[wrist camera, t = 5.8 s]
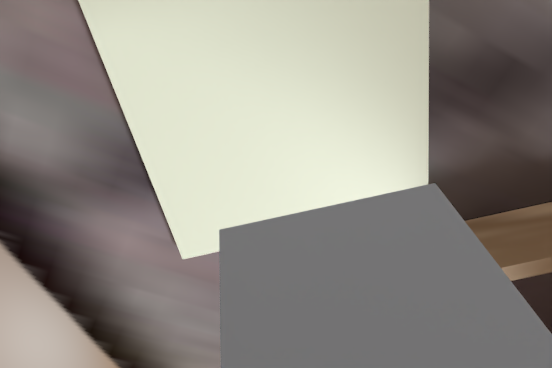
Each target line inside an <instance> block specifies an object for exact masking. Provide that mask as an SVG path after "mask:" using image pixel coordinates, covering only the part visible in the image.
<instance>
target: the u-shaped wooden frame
mask: <svg viewBox="0 0 552 368" xmlns="http://www.w3.org/2000/svg"><path fill="white" fill-rule="evenodd" d="M465 222H466V224H467V225H468V226H469V227H470V229H471V230H472V231H473V233H474V234H475V235H476V237H477V238H478V239H479V240H480V242H481V243H482V244H483V246H484V247H485V248H486V249H487V251H488V252H489V253H490V255H491V256H492V257H493V259H494V260H495V261H496V262H497V264H498V265H499V266H500V268H501V269H502V270H503V272H504V273H505V274H506V275H507V277H508V278H509V279H510V281H513V280H518V279H523V278H527V277H532V276H536V275H541V274H546V273H550V272H552V202H549V203H544V204H540V205H535V206H531V207H526V208H522V209H517V210H512V211H508V212H503V213H499V214H494V215H490V216H485V217H480V218H476V219H471V220H467V221H465Z"/></svg>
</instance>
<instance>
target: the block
mask: <svg viewBox="0 0 552 368" xmlns="http://www.w3.org/2000/svg"><path fill="white" fill-rule="evenodd" d="M219 257H220V344H221V368H552V334H551V332H550V331H549V330H548V329H547V327H546V326H545V325H544V323H543V322H542V321H541V320H540V318H539V317H538V316H537V314H536V313H535V312H534V310H533V309H532V308H531V307H530V305H529V304H528V303H527V301H526V300H525V299H524V297H523V296H522V295H521V294H520V292H519V291H518V290H517V288H516V287H515V286H514V285H513V283H512V282H511V281H510V279H509V278H508V277H507V275H506V274H505V273H504V272H503V270H502V269H501V268H500V266H499V265H498V264H497V262H496V261H495V260H494V259H493V257H492V256H491V255H490V253H489V252H488V251H487V249H486V248H485V247H484V246H483V244H482V243H481V242H480V240H479V239H478V238H477V237H476V235H475V234H474V233H473V231H472V230H471V229H470V227H469V226H468V225H467V224H466V222H465V221H464V220H463V218H462V217H461V216H460V214H459V213H458V212H457V211H456V209H455V208H454V207H453V205H452V204H451V203H450V202H449V200H448V199H447V198H446V196H445V195H444V194H443V192H442V191H441V190H440V189H439V187H438V186H437V185H436V183H432V184H428V185H423V186H419V187H414V188H409V189H405V190H400V191H396V192H391V193H386V194H382V195H377V196H372V197H368V198H363V199H359V200H354V201H349V202H345V203H340V204H336V205H331V206H326V207H322V208H317V209H312V210H308V211H303V212H299V213H294V214H289V215H285V216H280V217H276V218H271V219H266V220H262V221H257V222H252V223H248V224H243V225H239V226H234V227H229V228H225V229H220V230H219Z"/></svg>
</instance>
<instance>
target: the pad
mask: <svg viewBox="0 0 552 368" xmlns="http://www.w3.org/2000/svg"><path fill="white" fill-rule="evenodd" d="M78 1H79V4H80V6H81V8H82V11H83V13H84V16H85V18H86V21H87V23H88V26H89V28H90V31H91V33H92V36H93V38H94V41H95V43H96V46H97V48H98V51H99V53H100V56H101V58H102V61H103V63H104V66H105V68H106V70H107V73H108V75H109V78H110V80H111V83H112V85H113V88H114V90H115V93H116V95H117V98H118V100H119V103H120V105H121V108H122V110H123V113H124V115H125V118H126V120H127V123H128V125H129V128H130V130H131V132H132V135H133V137H134V140H135V142H136V145H137V147H138V150H139V152H140V155H141V157H142V160H143V162H144V165H145V167H146V170H147V172H148V175H149V177H150V180H151V182H152V185H153V187H154V190H155V192H156V194H157V197H158V199H159V202H160V204H161V207H162V209H163V212H164V214H165V217H166V219H167V222H168V224H169V227H170V229H171V232H172V234H173V237H174V239H175V242H176V244H177V247H178V249H179V252H180V254H181V256H182V259H186V258H191V257H196V256H200V255H205V254H209V253H214V252H219V230H220V229H225V228H229V227H234V226H239V225H243V224H248V223H252V222H257V221H262V220H266V219H271V218H276V217H280V216H285V215H289V214H294V213H299V212H303V211H308V210H312V209H317V208H322V207H326V206H331V205H336V204H340V203H345V202H349V201H354V200H359V199H363V198H368V197H372V196H377V195H382V194H386V193H391V192H396V191H400V190H405V189H409V188H414V187H419V186H423V185H428V148H429V0H78Z"/></svg>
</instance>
